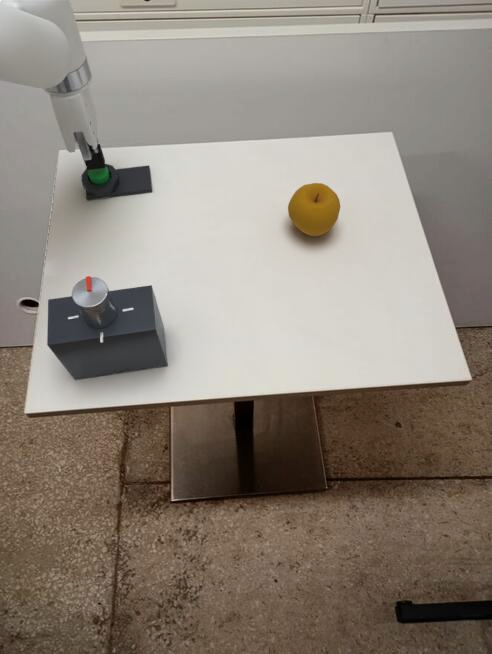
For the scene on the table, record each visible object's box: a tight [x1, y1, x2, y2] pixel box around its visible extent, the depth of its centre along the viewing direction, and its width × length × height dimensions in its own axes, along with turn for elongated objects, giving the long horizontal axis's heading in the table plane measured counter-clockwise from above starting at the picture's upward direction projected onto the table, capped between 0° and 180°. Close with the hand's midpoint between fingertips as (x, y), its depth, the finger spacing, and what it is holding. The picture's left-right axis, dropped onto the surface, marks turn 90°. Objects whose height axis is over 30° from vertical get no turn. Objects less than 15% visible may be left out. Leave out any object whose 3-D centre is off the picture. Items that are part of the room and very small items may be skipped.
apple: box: [287, 182, 341, 237], centre depth 85 cm, size 8×8×9 cm
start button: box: [88, 166, 110, 185], centre depth 91 cm, size 4×4×2 cm
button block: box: [81, 163, 153, 201], centre depth 92 cm, size 12×6×2 cm, turn 100°
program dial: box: [71, 275, 117, 328], centre depth 64 cm, size 4×4×6 cm
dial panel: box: [46, 284, 169, 381], centre depth 72 cm, size 14×9×12 cm, turn 100°
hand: (96, 165), depth 89 cm, fingers closed
